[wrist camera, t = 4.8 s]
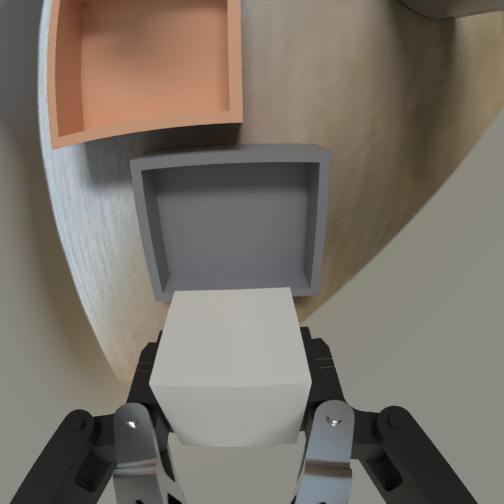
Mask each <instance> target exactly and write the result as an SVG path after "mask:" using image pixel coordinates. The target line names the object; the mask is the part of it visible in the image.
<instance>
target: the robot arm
mask: <svg viewBox="0 0 504 504" xmlns="http://www.w3.org/2000/svg"><path fill="white" fill-rule="evenodd" d="M400 1H402V2H403V3H404V4H405V5H406V6H408V7H409V8H410V9H412V10H413V11H415V12H417V13H419V14H420V15H423V16H425V17H428V18H433V19H443V18H447V17H453V18H455V19H457V18H461V17H466V16H471V15H476V14H482V13H488V12H495V11H503V10H504V0H400ZM300 332H301V336H302V340H303V345H304V349H305V354H306V358H307V362H308V367H309V372H310V376H311V381H312V383H311V387H310V391H309V396H308V400H307V404H306V408H305V412H304V416H303V420H302V424H301V427H300V431H305V436H306V442H305V446H304V451H303V455H302V459H301V463H300V468H299V472H298V476H297V480H296V484H295V487H294V490H293V493H292V496H291V500H290V503H289V504H348V501H349V494H350V488H351V482H352V470H351V469H350V459H359V461H360V462H361V464H362V466H363V467H364V469H365V470H366V472H367V474H368V475H369V477H370V478H371V480H372V481H373V483H374V485H375V486H376V487H377V489H378V491H379V492H380V494H381V496H382V497H383V499H384V500H385V502H386V503H387V504H478V503H477V502H476V501H475V499H474V498H473V496H472V495H471V494H470V492H469V491H468V490H467V488H466V487H465V486H464V484H463V483H462V482H461V480H460V479H459V478H458V476H457V475H456V473H455V472H454V471H453V469H452V468H451V467H450V465H449V464H448V463H447V461H446V460H445V459H444V457H443V456H442V455H441V453H440V452H439V451H438V449H437V448H436V447H435V445H434V444H433V443H432V441H431V440H430V439H429V438H428V436H427V435H426V434H425V432H424V431H423V430H422V428H421V427H420V426H419V425H418V423H417V422H416V421H415V419H414V418H413V417H412V416H411V414H410V413H409V412H408V411H407V410H406V409H404V408H402V407H399V406H390V407H387V408H385V409H383V410H382V411H381V412H380V413H374V412H364V411H359V410H356V409H354V408H352V407H351V406H350V405H349V404H348V403H347V402H346V401H345V399H344V396H343V393H342V389H341V386H340V383H339V379H338V376H337V372H336V369H335V367H334V362H333V359H332V356H331V353H330V349H329V346H328V345H327V344H326V343H325V342H324V341H323V340H322V339H321V338H317V339H311V335H310V331H309V328H308V327H300ZM162 333H163V330H161V331H160V333H159V336H158V339H157V343H154V342H149V343H148V344H147V346H146V347H145V348H144V349H143V350H142V352H141V355H140V358H139V363H138V365H137V368H136V371H135V375H134V378H133V382H132V385H131V389H130V392H129V396H128V399H127V402H126V404H124V405H122V406H120V407H119V408H118V409H117V410H116V412H115V413H114V414H110V415H103V416H96V417H92V415H90V413H89V412H87V411H85V410H74V411H72V412H70V413H69V414H68V415H67V416H66V417H65V419H64V420H63V421H62V423H61V424H60V426H59V427H58V429H57V430H56V432H55V433H54V435H53V436H52V438H51V439H50V441H49V442H48V443H47V445H46V446H45V448H44V449H43V451H42V453H41V454H40V456H39V457H38V459H37V460H36V462H35V463H34V465H33V466H32V468H31V470H30V471H29V473H28V474H27V476H26V478H25V479H24V481H23V482H22V484H21V486H20V488H19V489H18V491H17V492H16V494H15V496H14V497H13V499H12V501H11V503H10V504H97V502H98V500H99V498H100V496H101V494H102V493H103V491H104V489H105V487H106V485H107V484H108V482H109V480H110V478H111V476H112V475H113V483H114V489H115V495H116V501H117V504H187V502H186V499H185V497H184V493H183V491H182V489H181V487H180V485H179V483H178V479H177V476H176V472H175V468H174V464H173V460H172V456H171V452H170V448H169V444H168V434H169V432H173V433H175V432H174V430H173V429H172V427H171V425H170V423H169V422H168V420H167V418H166V416H165V414H164V412H163V411H162V409H161V407H160V405H159V403H158V401H157V399H156V397H155V395H154V393H153V391H152V389H151V387H150V385H149V382H150V378H151V374H152V370H153V366H154V362H155V358H156V355H157V351H158V347H159V343H160V340H161V336H162ZM116 467H117V468H116Z"/></svg>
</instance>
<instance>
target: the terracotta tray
mask: <svg viewBox="0 0 504 504" xmlns="http://www.w3.org/2000/svg"><path fill="white" fill-rule="evenodd" d="M47 97H48V114H49V126H50V136H51V145H52V150H54V149H58V148H62V147H65V146H70V145H74V144H78V143H82V142H87V141H91V140H96V139H101V138H106V137H111V136H117V135H122V134H128V133H135V132H141V131H148V130H155V129H163V128H172V127H181V126H192V125H204V124H219V123H242V122H243V96H242V52H241V3H240V0H53V1H52V8H51V15H50V24H49V36H48V52H47Z"/></svg>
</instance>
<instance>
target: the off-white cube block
mask: <svg viewBox="0 0 504 504" xmlns="http://www.w3.org/2000/svg"><path fill="white" fill-rule="evenodd" d="M311 383H312V381H311V376H310V372H309V367H308V362H307V358H306V354H305V349H304V345H303V340H302V336H301V332H300V327H299V323H298V319H297V315H296V310H295V306H294V302H293V298H292V294H291V290H290V287H284V288H263V289H237V290H201V291H175V292H174V295H173V298H172V302H171V305H170V308H169V312H168V315H167V319H166V322H165V326H164V329H163V333H162V336H161V340H160V343H159V347H158V351H157V355H156V358H155V362H154V366H153V370H152V374H151V378H150V382H149V385H150V387H151V389H152V391H153V393H154V395H155V397H156V399H157V401H158V403H159V405H160V407H161V409H162V411H163V412H164V414H165V416H166V418H167V420H168V422H169V423H170V425H171V427H172V429H173V430H174V432H175V434H176V435H177V437H178V439H179V441H180V442H181V444H182V445H193V446H218V447H221V446H222V447H224V446H225V447H228V446H229V447H239V446H265V445H280V444H292V443H296V442H297V438H298V435H299V431H300V427H301V424H302V420H303V416H304V412H305V408H306V404H307V400H308V396H309V391H310V387H311Z"/></svg>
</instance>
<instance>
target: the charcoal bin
mask: <svg viewBox="0 0 504 504" xmlns="http://www.w3.org/2000/svg"><path fill="white" fill-rule="evenodd" d="M129 162H130V170H131V177H132V185H133V191H134V198H135V204H136V210H137V216H138V222H139V227H140V233H141V238H142V243H143V248H144V253H145V257H146V262H147V267H148V271H149V275H150V280H151V284H152V288H153V292H154V296H155V300H156V301H172V298H173V295H174V292H175V291H201V290H237V289H263V288H284V287H290V290H291V294H292V297H297V296H312V295H319V287H320V279H321V271H322V263H323V254H324V244H325V234H326V224H327V212H328V199H329V185H330V168H331V151H329V150H327V149H325V148H323V147H321V146H319V145H317V144H236V145H216V146H200V147H188V148H177V149H167V150H158V151H149V152H145V153H143V154H141V155H139V156H137V157H135V158H134V159H132V160H130V161H129Z"/></svg>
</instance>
